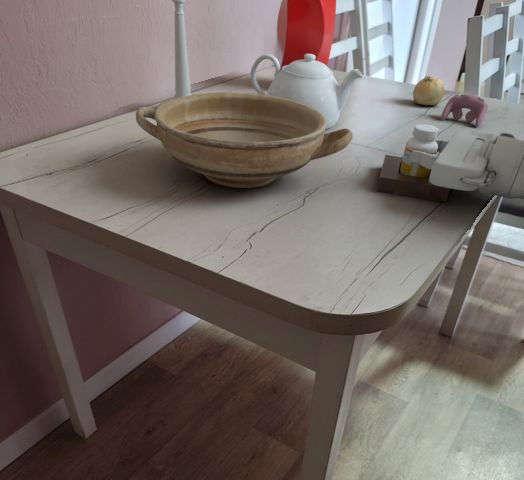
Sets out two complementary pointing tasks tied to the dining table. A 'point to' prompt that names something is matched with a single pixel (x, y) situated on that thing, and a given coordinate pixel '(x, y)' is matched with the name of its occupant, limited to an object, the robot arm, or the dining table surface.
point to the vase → (305, 29)
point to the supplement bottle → (420, 141)
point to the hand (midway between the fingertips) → (415, 149)
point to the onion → (428, 91)
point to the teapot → (309, 85)
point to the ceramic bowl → (241, 136)
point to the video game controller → (468, 102)
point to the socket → (407, 182)
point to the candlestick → (180, 55)
